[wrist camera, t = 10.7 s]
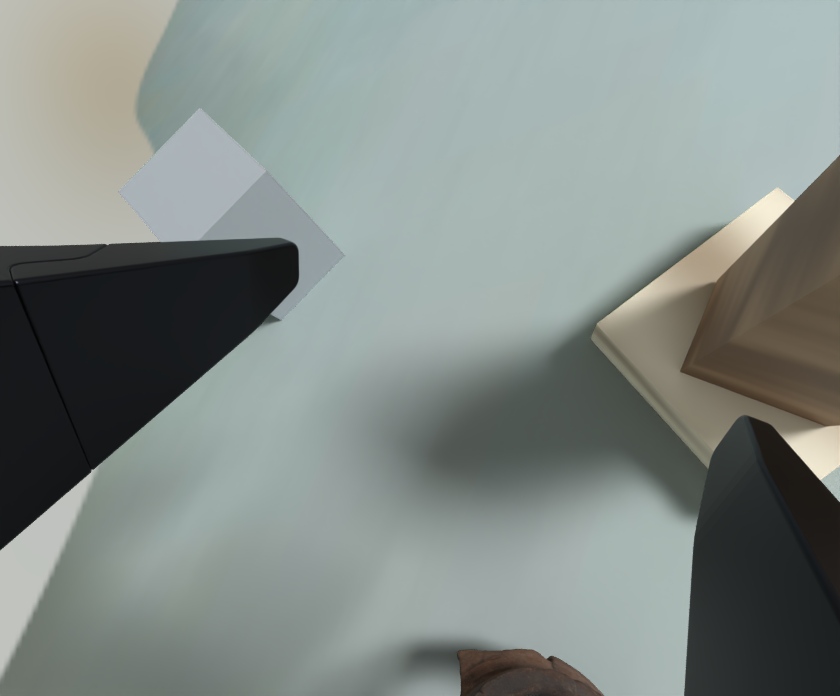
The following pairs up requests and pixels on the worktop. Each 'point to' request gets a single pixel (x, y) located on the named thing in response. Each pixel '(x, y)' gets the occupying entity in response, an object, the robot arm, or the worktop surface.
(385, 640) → the worktop surface
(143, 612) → the worktop surface
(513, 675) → the pottery mug
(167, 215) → the grey block
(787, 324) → the walnut block
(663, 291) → the birch block
